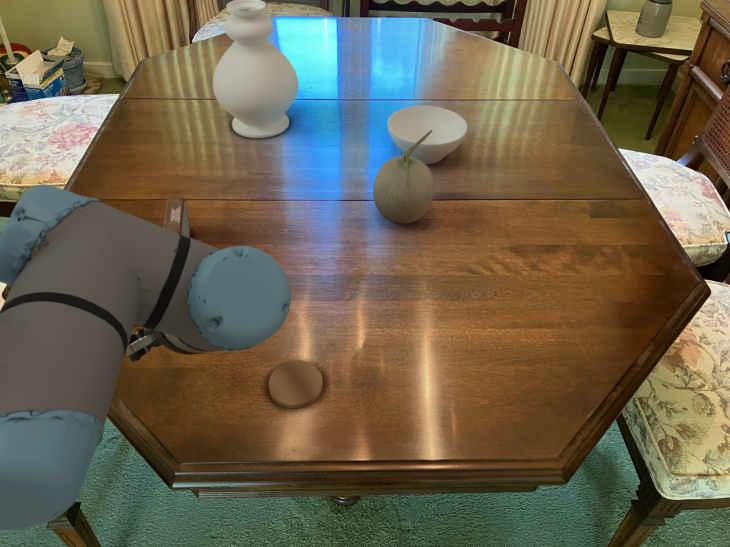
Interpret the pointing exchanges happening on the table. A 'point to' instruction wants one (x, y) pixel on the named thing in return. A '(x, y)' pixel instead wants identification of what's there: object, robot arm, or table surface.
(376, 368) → the table surface
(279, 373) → the cork trivet
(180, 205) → the tin
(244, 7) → the decorative vase
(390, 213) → the fruit
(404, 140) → the bowl
